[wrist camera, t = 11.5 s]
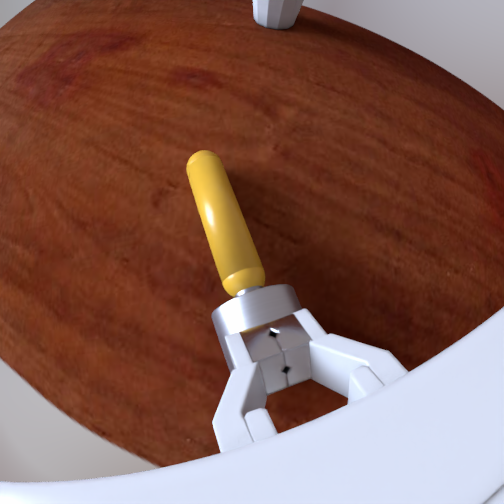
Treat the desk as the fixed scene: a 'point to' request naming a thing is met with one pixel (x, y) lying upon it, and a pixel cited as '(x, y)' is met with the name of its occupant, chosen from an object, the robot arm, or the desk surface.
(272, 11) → the cup
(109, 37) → the desk surface
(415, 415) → the robot arm
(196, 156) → the yellow lever knob
